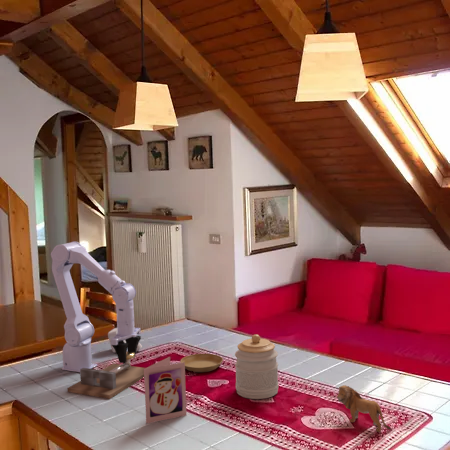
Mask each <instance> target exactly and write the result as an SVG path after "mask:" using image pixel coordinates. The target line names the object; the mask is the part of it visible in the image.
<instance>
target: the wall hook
mask: <svg viewBox="0 0 450 450" xmlns="http://www.w3.org/2000/svg"><path fill="white" fill-rule="evenodd" d="M116 334H117V327H114V328H112V329H111V330H110V331H108V333H107V337H108V341H109V344H110V347H111V348H110V349H111V351H112V353H113V354H115V353H116V351H115V349H114V348H113V346H112V345H111V339H112V338H113V337H114V336H115V335H116ZM123 342H124V343H126V341H125V340H124V341H123ZM141 348H143V345H142V344H141V343H140V342H139V343H138V346H137V350H136V352H138V351H139V350H141ZM116 354H117V353H116Z"/></svg>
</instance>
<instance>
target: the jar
mask: <svg viewBox="0 0 450 450" xmlns="http://www.w3.org/2000/svg"><path fill="white" fill-rule="evenodd" d="M236 347H237V349H238V350H237V351H235V353H234V357H235V358H236V362H235V364H234V366H235V389H236V394H238V396H240V397H242V398H245V399H250V400H251V399H252V400H262V399H263V400H264V399H268V398H272V397H274V396H276V395H277V394H278V391H279V381H278V379H279V377H278V376H279V374H278V371H279V370H278V369H279V368H278V366H279V363H278V361H277V357H278V355H279V352H278V351H277V350H276V349H275V348H276V345H275V344H274V343H273V342H271V341H270V340H269V339H266V338H261V336H260V335H259V334H253V335H252V336H251V338H247V339H245V340H242V341H241V342H240V343H239V344H238V345H237V346H236Z"/></svg>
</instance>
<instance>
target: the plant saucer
mask: <svg viewBox="0 0 450 450" xmlns="http://www.w3.org/2000/svg"><path fill="white" fill-rule="evenodd" d="M223 361H224V358H223V357H222V356H221V355H217V354H214V353H195V354H190V355H187V356H184V357H182V358H180V361H179V363H183V362H185V370H188V371H190V372H192V371H193V373H207V372H211V371H214V370H216V369H217V368H218V367H220V365H221V364H222V363H223Z"/></svg>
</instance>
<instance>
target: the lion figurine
mask: <svg viewBox="0 0 450 450" xmlns="http://www.w3.org/2000/svg"><path fill="white" fill-rule="evenodd" d="M336 399H337V400H338V402H339V403H341V404H343V405H344V406H345V408H346V409H347V410H349V412H350V415H351V416H350V417H351V418H350V419H349V422H350V423H355V421H356V419H358V418H359V413H362V414H369V416H370V418H371V420H372V424H373V425H374V426H377V427H376V428H375V431H376V432H378V433H379V432H381V431H382V425H383V426H384V427H385V428H386V430H392V428H391V426H389V425H387V424H386V423H385V420H384V417H383V412H382V409H381V408H380V407H381V406H380V404H379V403H378V402H377V401H375V400H370V399H369V400H368V399H366V398H363V397H362V396H361V395H360V393H359V392H358V391H356V390H355V389H354V388H352V387H351V386H348V385H341V386H338V394H337V395H336ZM380 421H381V422H382V424H381V422H380Z"/></svg>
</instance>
